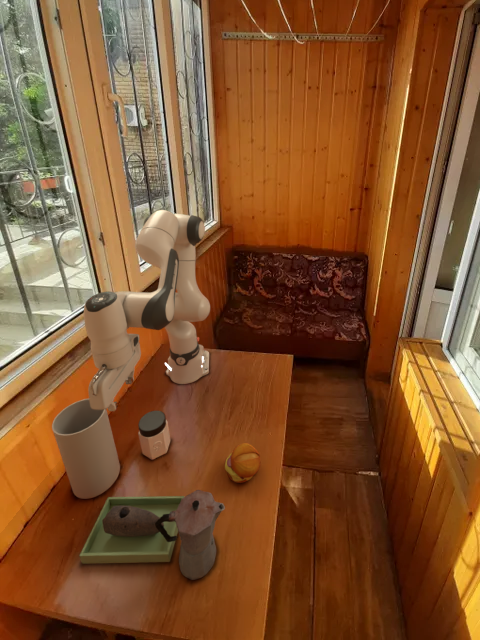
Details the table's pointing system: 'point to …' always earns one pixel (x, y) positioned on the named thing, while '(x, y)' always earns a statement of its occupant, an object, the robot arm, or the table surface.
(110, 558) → the tray
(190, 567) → the moka pot
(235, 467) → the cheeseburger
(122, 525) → the perforated stone tool
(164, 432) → the jar
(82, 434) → the cylinder vase
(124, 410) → the table surface
